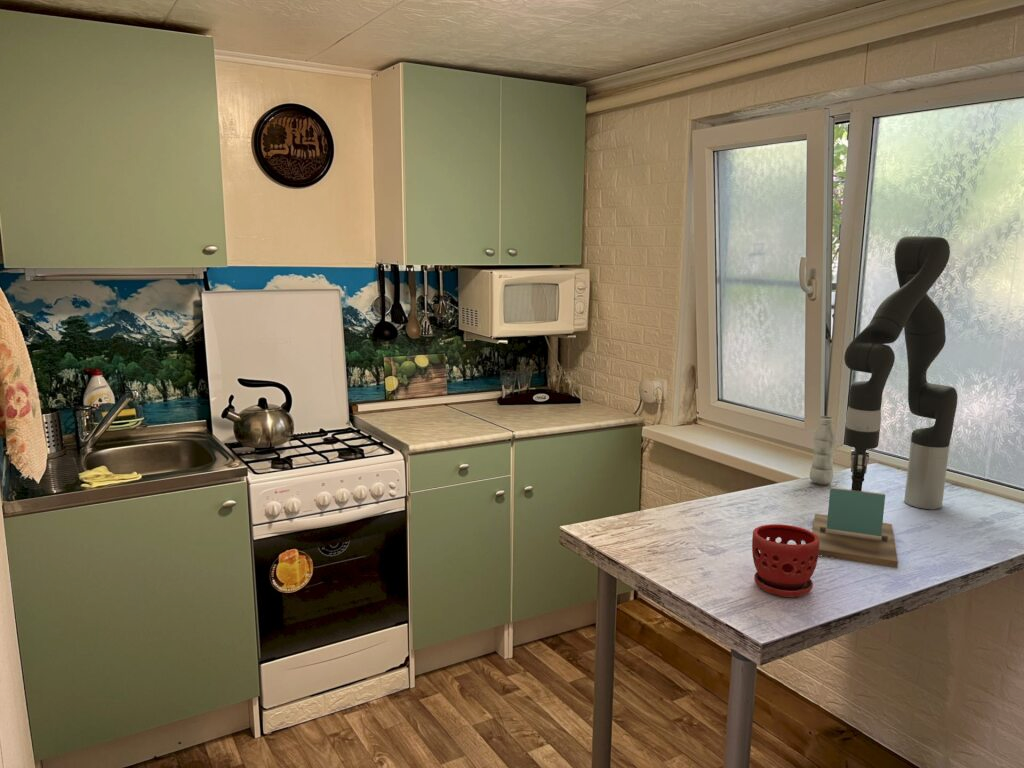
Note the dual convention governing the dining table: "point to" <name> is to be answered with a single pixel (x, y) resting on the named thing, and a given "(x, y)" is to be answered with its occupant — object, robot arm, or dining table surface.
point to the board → (856, 544)
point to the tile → (856, 511)
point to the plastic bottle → (823, 452)
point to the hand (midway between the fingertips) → (855, 495)
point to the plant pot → (784, 559)
